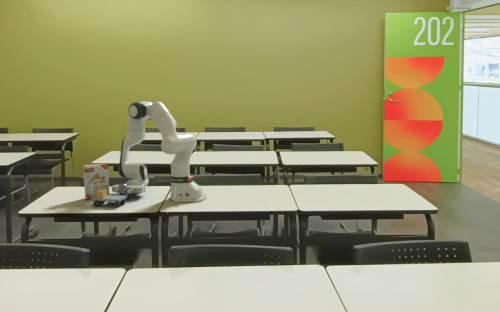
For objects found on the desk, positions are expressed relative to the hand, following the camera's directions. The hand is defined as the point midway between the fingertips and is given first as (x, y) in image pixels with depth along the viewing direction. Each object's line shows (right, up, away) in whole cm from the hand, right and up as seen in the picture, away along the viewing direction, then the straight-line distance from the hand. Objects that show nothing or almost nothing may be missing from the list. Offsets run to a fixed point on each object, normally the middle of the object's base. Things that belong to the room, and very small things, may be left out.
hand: (122, 191), depth 285 cm
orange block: (-10, -2, -8) cm, 13 cm away
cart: (-5, -7, -8) cm, 12 cm away
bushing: (0, -5, +2) cm, 6 cm away
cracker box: (-18, -5, +9) cm, 20 cm away
